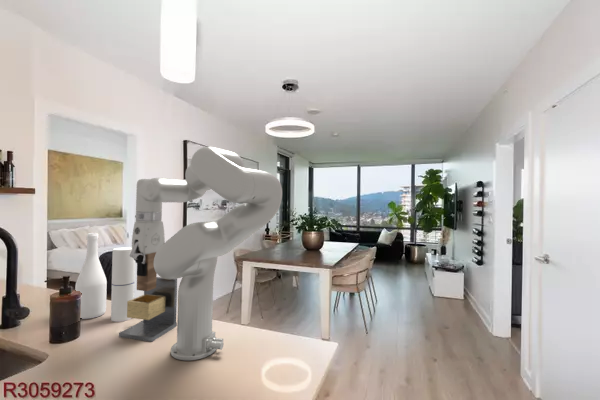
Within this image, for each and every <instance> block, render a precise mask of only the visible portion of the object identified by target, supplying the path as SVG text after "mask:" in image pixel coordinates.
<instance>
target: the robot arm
mask: <svg viewBox="0 0 600 400" xmlns="http://www.w3.org/2000/svg"><path fill="white" fill-rule="evenodd" d="M184 177H185V179H177V178H166V177H165V178H163V177H152V178H141V179H138V180H137V182H136V194H135V196H136V197H135V198H136V199H135V216H134V219H135V221H134V224H133V229H132V235H131V236H132V237H131V247H132V251H131V253H130V257H132V258H134V260H135V264H136V277H137V276H146V275H147V263H145V262H146V257H147V254H150V253H155V252H156V254H155V257H154V269H155V271H156V273H157V276H158V277H162V278H164V279H168V280H172V279H177V280H178V279H180V278H181V280H180V283H179V286H178V289H177V319H176V322H177V326H176V327H177V328H176V342H175V343H173V345H172V346H171V348H170V355H171V357H173V358H174V359H175V360H176V359H177V360H178V361H196V360H200V359H204V358H206V357H209V356H211V355H212V354H214V353H215V352H216V350H219V351H220V350H223V349H224V338H221V337H220V338H218V337H216V331H213V310H214V309H213V307H214V306H213V302H214V300H213V299H214V279H215V274H216V272H215V271H216V268H217V262H218V257H222V256H225V255H226V254H228V253H230V252H231V251H232V250H234V249H235V248H236V247H237V246H239V245H240V244H241V243H243V242H244V241H246V240H247V239H248V238H250V237H252V235H254V234H255V233H256V232H258V231H259V230H261V229H262V228H264V227H265V226H266V225H267V224H268V223H270V221H271V220H272V219H273V218H274V217H275V216H276V214H277V213H278V211H279V209H280V206H281V204H282V199H283V188H282V184H281V182H280V180H279V178H278V177H276V175H274V174H273V173H270V172H268V171H264V170H261V169H260V170H259V169H255V168H254V169H253V168H247V167H245V163H244V160H243V159H242V157H241V156H240V155H239V154H238V153H236V152H233V151H230V150H226V149H223V148H219V147H215V146H214V147H213V146H203V147H201V148H199V149H197V150H196V151H195V152H194V153H193V154H192V157H191V159H190V165H188V167H187V168H186V169H185V176H184ZM209 190H212V192H215V193H216V194H217V195H218V196H219V197H221V198H223V199H224V200H226V201H228V202H230V203H236V204H239V205H237V206H236V207H234V208H232V209H231V210H229V211H228V212H227V213H225V214H224V215H223V216H221V217H220V218H218V219H217V220H212V221H211V220H210V221H200V222H193V223H189V224H187V225H184V226H183V227H182V228H181V229H179V230H178V231H177V232H175V233H174V234H173V235H172V236H171V237H170V238H169V239H168V240H165V226H164V221H163V219H162V215H163V210H162V209H163V203H186V202H190V201H193V200H196V199H200V198H201V197H203V196H204V195H205V194H206V192H208V191H209ZM141 255H143V256H142V258H141Z"/></svg>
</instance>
